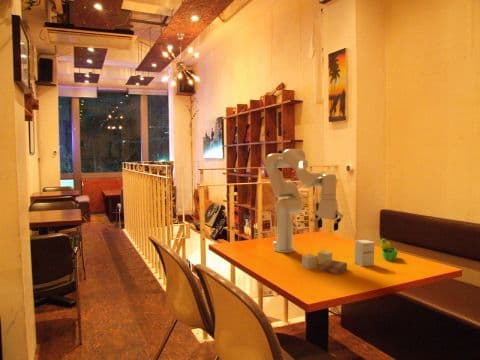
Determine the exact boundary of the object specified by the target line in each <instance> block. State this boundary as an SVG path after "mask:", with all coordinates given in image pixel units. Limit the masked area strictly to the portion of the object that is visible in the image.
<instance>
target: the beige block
mask: <svg viewBox="0 0 480 360" xmlns="http://www.w3.org/2000/svg"><path fill="white" fill-rule="evenodd" d="M327 260H333V252H331V251H327V250H321V251H318V252H317V264H319V265H321V264H322V263H323V262H325V261H327Z"/></svg>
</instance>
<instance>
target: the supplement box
mask: <svg viewBox="0 0 480 360" xmlns="http://www.w3.org/2000/svg"><path fill="white" fill-rule="evenodd" d="M354 264H355V265H358V266H360V267H361V268H362V267H371V266H372V267H373V266H374V265H375V242H374V241H371V240H368V239H359V240H355V241H354Z"/></svg>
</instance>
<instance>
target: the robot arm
mask: <svg viewBox="0 0 480 360" xmlns="http://www.w3.org/2000/svg"><path fill="white" fill-rule="evenodd" d="M308 166H309V162H308V160H307V159H306V153H305V152H304V150H302V149H299V148H288V149H285V150H284V151H283V153H279V152H278V153H277V152H275V153H274V152H273V153H270V154H268V155H267V156H266V157H265V160H264V169H265V172H266V174H267V176H268V179H269V182H270V184H271V185H270V186H271V188H272V192H273V194H274V196H275V197H276V198H281V199H279V200H277V201H276V203H275V212H276V241H272V246H274V247H273V250H274V251H275V252H276V253H285V254H286V253H288V254H289V253H294V252H295V251H296V249H295V247H293V239H294V238H293V231H294V228H293V227H294V226H293V224H294V222H293V218H292V216H291V215H292V214H293V215H294V214H298V213H301V212H302V210H303V202H302V201H303V200H302V197H301V194H300V192H299V189H298V186H297V185H296V183H294V182H292V181H286V180H285V178H284V175H283V173H282V172H281V170H280V169H279V168H287V167H291V168H292V169H293V170H294V171H295V173H296V177H297V179H298V180H299V181H300V182H301V183H302V184H303V185H304V186H306V187H309V188H314V187H315V188H317V187H321V193H320V194H319V197H320V198H319V202H318V206H317V207H318V208H317V210H314V211H313V215H314V217H315V219H316V221H317V228H318V229H320V228H322V227H323V219H326V220H332V221H333V222H334V223H333V231H338V230H339V223H340V222H341V221H342V220H343V218H344V215H343V214H342V212H341V213H340V212H339V207H338V205H339V204H338V200H337V175H336V174H335V173H326V172H325V173H324V172H310V171H308V170H307V168H308Z"/></svg>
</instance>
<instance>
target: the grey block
mask: <svg viewBox="0 0 480 360" xmlns="http://www.w3.org/2000/svg"><path fill="white" fill-rule="evenodd" d="M317 265H318V255H317V256H316V255H314V254H311V253H309V254H302V255H301V267H302V268H304V269H307V270H311V269H317V268H318V266H317Z"/></svg>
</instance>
